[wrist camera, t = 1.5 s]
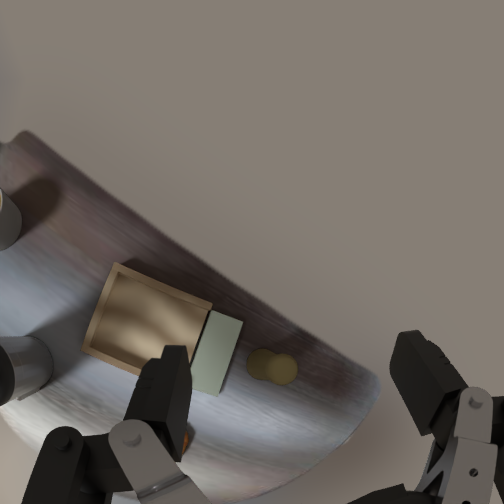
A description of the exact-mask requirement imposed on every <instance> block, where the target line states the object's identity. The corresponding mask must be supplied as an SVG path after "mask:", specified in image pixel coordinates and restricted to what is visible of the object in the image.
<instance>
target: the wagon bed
mask: <svg viewBox="0 0 504 504" xmlns="http://www.w3.org/2000/svg"><path fill="white" fill-rule="evenodd" d="M212 305H213V303H210V302H208V301H205V300H203V299H200V298H198V297H195V296H193V295H190V294H188V293H185V292H183V291H181V290H178V289H176V288H173V287H171V286H169V285H166V284H164V283H162V282H159V281H157V280H155V279H152V278H150V277H148V276H145V275H143V274H141V273H139V272H136V271H134V270H132V269H130V268H127V267H125V266H123V265H121V264H118V263H116V262H114V265H113V267H112V269H111V272H110V274H109V276H108V279H107V281H106V283H105V286H104V288H103V291H102V293H101V296H100V298H99V301H98V303H97V306H96V308H95V311H94V314H93V316H92V319H91V322H90V324H89V327H88V330H87V333H86V335H85V338H84V341H83V344H82V347H81V351H83V352H85V353H87V354H89V355H91V356H93V357H95V358H98V359H100V360H102V361H104V362H106V363H109V364H111V365H113V366H116V367H118V368H120V369H123V370H125V371H127V372H130V373H132V374H135V375H137V376H139V375H140V372H141V370H142V367H143V366H144V365H145V364H146V363H147V362H148V361H149V360H150V359H151V358H161V354H162V351H163V348H164V346H165V345H186V347H187V352H188V358H189V363H190V360H191V357H192V354H193V352H194V349H195V346H196V343H197V340H198V338H199V335H200V332H201V329H202V326H203V324H204V321H205V318H206V315H207V313H208V311H210V310H211V308H212Z"/></svg>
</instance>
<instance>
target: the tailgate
mask: <svg viewBox="0 0 504 504" xmlns="http://www.w3.org/2000/svg"><path fill="white" fill-rule="evenodd" d="M242 324H243V322H242V321H239V320H237V319H234V318H231V317H229V316H226V315H224V314H221V313H218V312H216V311H213V310H211V311H210V314H209V317H208V320H207V323H206V325H205V328H204V331H203V334H202V337H201V339H200V342H199V345H198V348H197V351H196V353H195V356H194V359H193V362H192V365H191V368H190V369H191V374H192V389H194V390H197V391H200V392H204V393H207V394H210V395H213V396H216V397H218V394H219V391H220V388H221V385H222V382H223V379H224V377H225V374H226V371H227V368H228V365H229V362H230V359H231V356H232V353H233V350H234V348H235V345H236V342H237V339H238V336H239V333H240V330H241V327H242Z"/></svg>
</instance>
